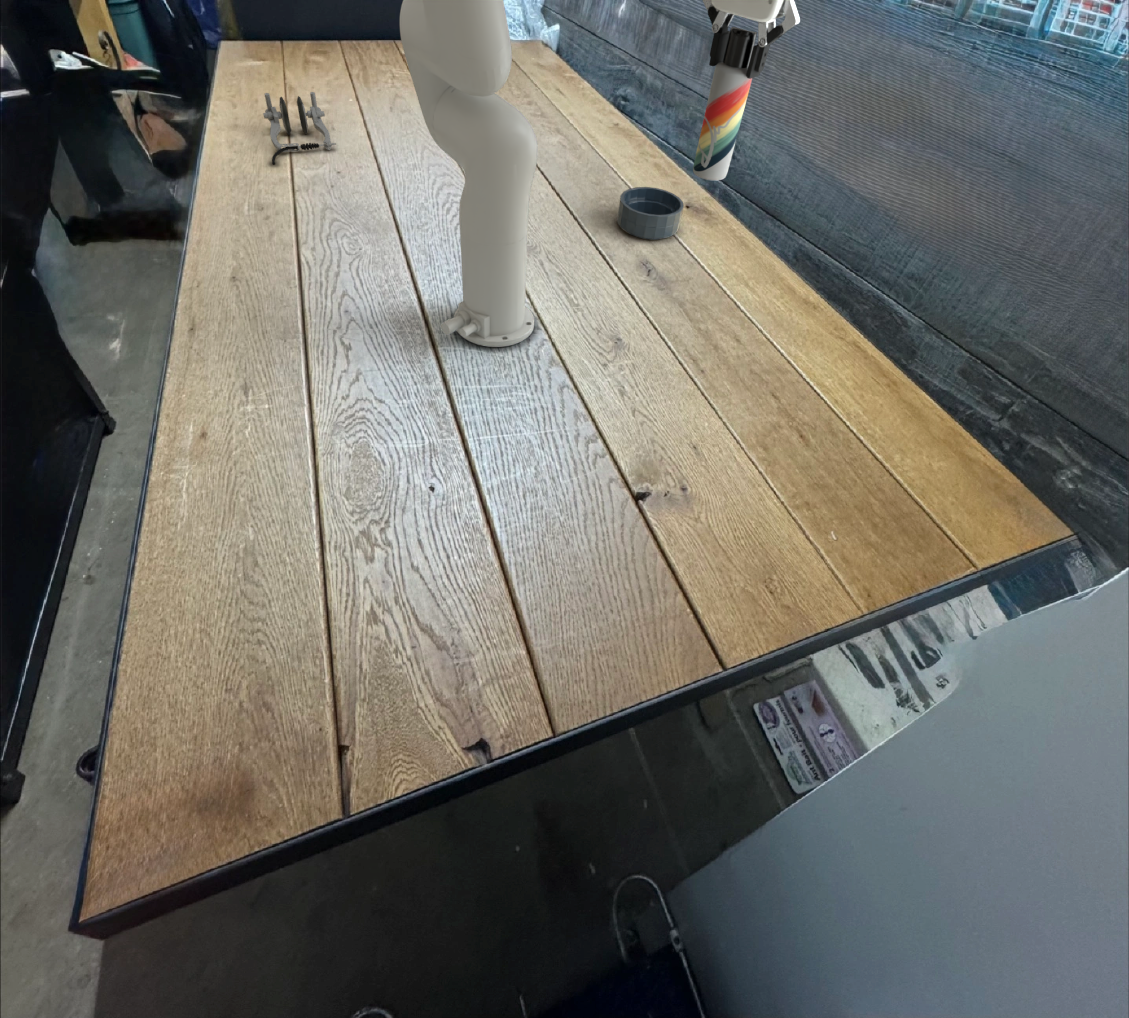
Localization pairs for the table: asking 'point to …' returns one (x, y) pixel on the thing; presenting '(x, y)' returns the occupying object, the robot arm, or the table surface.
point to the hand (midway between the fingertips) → (734, 69)
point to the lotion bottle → (725, 107)
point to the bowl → (649, 212)
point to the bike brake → (275, 127)
